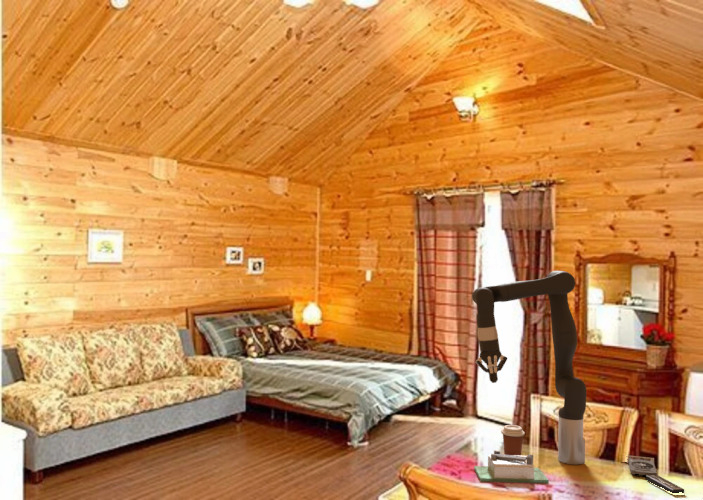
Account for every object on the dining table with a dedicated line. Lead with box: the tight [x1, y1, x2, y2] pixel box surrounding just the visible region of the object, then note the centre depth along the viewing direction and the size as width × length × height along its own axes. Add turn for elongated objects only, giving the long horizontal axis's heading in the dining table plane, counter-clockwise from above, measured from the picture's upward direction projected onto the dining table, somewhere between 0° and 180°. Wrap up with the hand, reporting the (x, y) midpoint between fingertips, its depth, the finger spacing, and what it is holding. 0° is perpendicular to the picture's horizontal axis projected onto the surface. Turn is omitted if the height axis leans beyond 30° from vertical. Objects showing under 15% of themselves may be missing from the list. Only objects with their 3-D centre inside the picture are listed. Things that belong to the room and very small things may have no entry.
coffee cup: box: [500, 424, 526, 456], centre depth 240 cm, size 9×9×12 cm
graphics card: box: [627, 454, 658, 476], centre depth 227 cm, size 17×4×12 cm
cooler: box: [473, 450, 550, 484], centre depth 219 cm, size 24×13×8 cm, turn 88°
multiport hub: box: [645, 474, 685, 494], centre depth 210 cm, size 4×14×2 cm, turn 10°
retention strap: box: [496, 453, 526, 462], centre depth 219 cm, size 11×3×1 cm, turn 62°
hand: (494, 382), depth 234 cm, fingers closed
